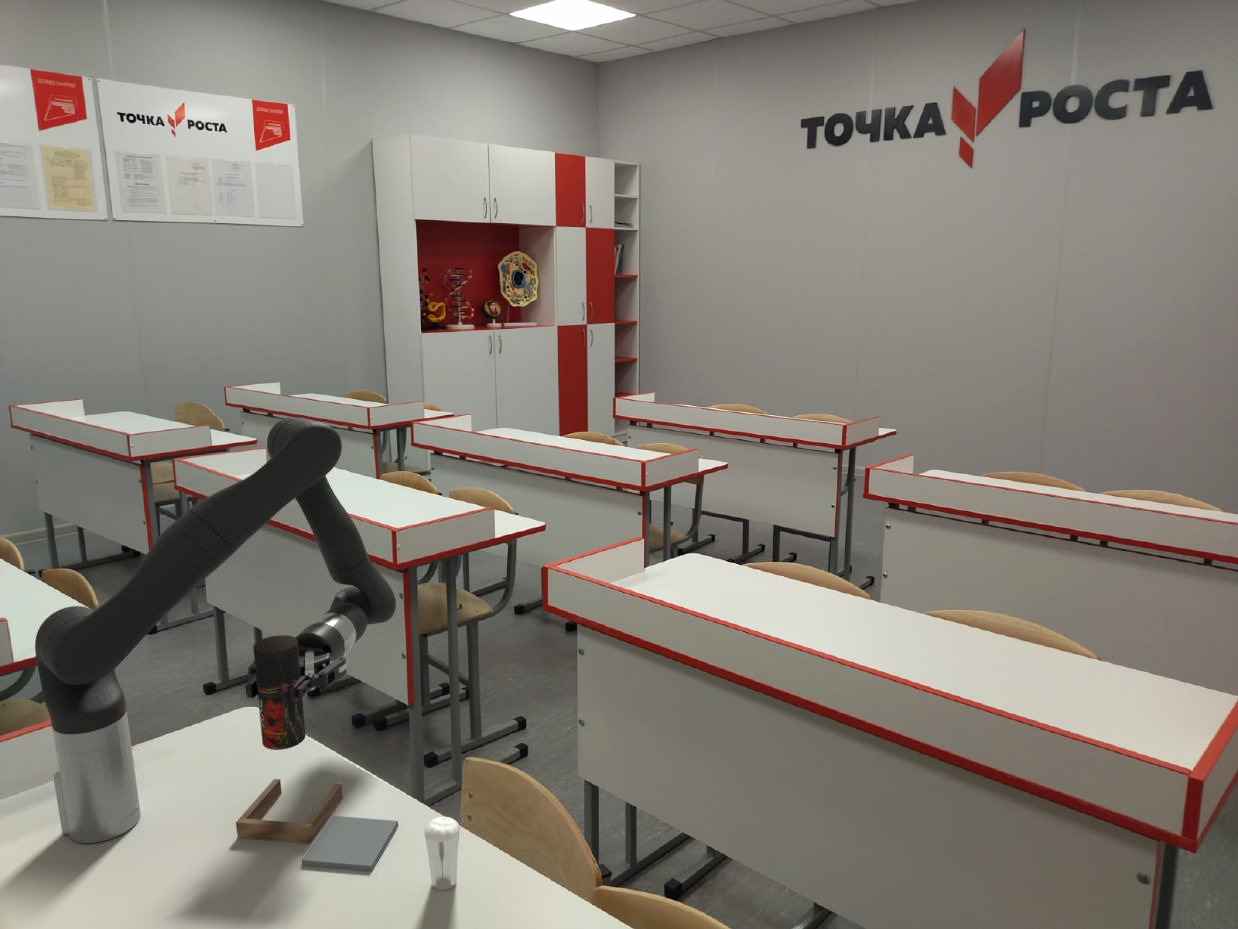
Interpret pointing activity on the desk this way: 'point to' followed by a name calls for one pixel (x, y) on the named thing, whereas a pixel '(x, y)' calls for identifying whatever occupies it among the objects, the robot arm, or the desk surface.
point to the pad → (350, 843)
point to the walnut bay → (280, 830)
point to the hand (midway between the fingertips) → (271, 693)
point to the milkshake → (442, 851)
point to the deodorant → (278, 692)
